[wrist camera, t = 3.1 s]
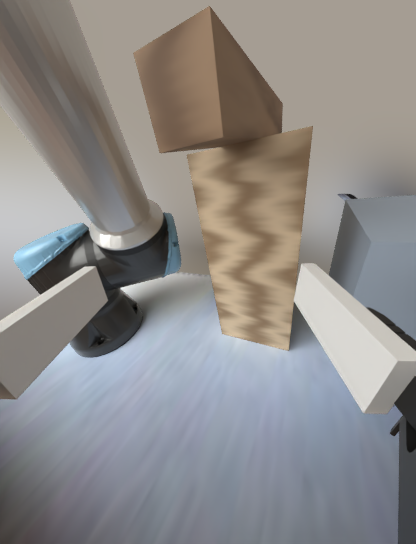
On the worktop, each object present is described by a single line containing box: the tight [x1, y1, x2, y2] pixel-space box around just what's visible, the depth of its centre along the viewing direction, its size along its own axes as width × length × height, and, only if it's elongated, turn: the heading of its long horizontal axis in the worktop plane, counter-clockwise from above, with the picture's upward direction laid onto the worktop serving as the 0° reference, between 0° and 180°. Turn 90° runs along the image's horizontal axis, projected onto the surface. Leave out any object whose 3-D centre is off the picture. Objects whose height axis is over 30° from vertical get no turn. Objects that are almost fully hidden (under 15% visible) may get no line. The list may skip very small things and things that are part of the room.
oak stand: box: [187, 126, 313, 351], centre depth 31 cm, size 12×16×30 cm
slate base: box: [329, 195, 416, 341], centre depth 26 cm, size 12×16×20 cm
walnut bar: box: [133, 6, 283, 153], centre depth 18 cm, size 4×26×4 cm, turn 155°
